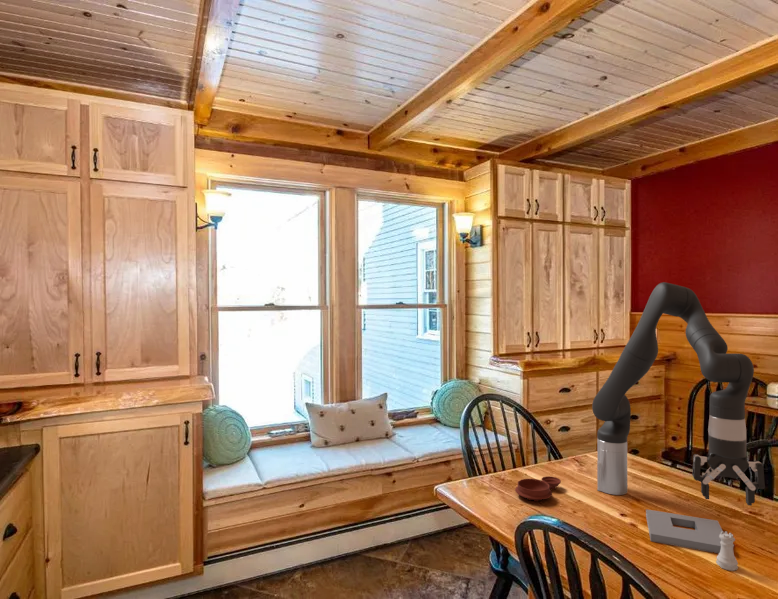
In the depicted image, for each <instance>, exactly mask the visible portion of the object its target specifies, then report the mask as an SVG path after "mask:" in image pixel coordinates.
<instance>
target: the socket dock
mask: <svg viewBox="0 0 778 599" xmlns="http://www.w3.org/2000/svg"><path fill="white" fill-rule="evenodd" d="M645 518H646V522H647V523H646V524H647V528H648V534H649V539H650V540H649V541H650V542H654V543H659V544H665V545H669V546H670V545H671V546H675V547H676V546H677V547H680V548H686V549H691V548H692V550H697V549H698V551H702V552H709V553H713V552H714V553H715V554H719V553H720V549H721V543H720V542H721V539H720V537H719V535H720V534H721V532H722V531H723V529H722V527H721V525H720V523H719V521H718V520H715V519H709V518H703V517H702V518H701V517H697V516H690V515H683V514H678V513H672V512H665V511H659V510H654V509H653V510H652V509H645ZM678 526H679V527H678ZM684 527H686V528H684ZM691 528H692V529H691Z"/></svg>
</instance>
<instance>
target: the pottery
mask: <svg viewBox="0 0 778 599" xmlns="http://www.w3.org/2000/svg"><path fill="white" fill-rule="evenodd" d="M561 482H562V480H561V479H560V478H559V477H556V476H555V477H554V476H543V477H541V479H538V478H537V479H536V478H523V479H520V480H518V481H517V486H516V487H515V490H514V491H515V493H516V494H517V495H519V496H520V497H522V498H525V499H526V498H528V499H530V500H529V501H531V500H534V501H533V502H539V501H538V500H541V501H543V500H546V499H549V498H550V497H552V496H553V491H552V490H550V489H555V488H557V487H558V486H559V485H560V484H561ZM555 490H556V489H555ZM528 499H527V500H528ZM542 499H543V500H542Z"/></svg>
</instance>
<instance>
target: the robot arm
mask: <svg viewBox="0 0 778 599" xmlns="http://www.w3.org/2000/svg"><path fill="white" fill-rule="evenodd" d="M663 314H664V315H669V316H672V317H679V318H680V319H682V321H684V322H685V323H686V324H687V325H686V328H685V337H686V339H687V342H688V343H689V345H690V346H691V348H692V349H693V351H694V352H695V353H696V356H697V358H698V362H699V366H700V368H699V369H700V372H701V374H702V375H703V377H704V378H705V379H706V380H708V381H710V382H713V383H728V385H727V386H726V387H725V388H724V389H721V390H716V391H713V392H711V394H710V395H709V419H708V428H707V431H708V432H707V433H708V453H707V456H702V455H699V454H698V453H694V454H693V458H692V459H693V460H692V473H691V474H692V478H693V480H694V481H697V482H699V483H700V490H701V491H700V493H701V495H702V497H704V498H705V499H706V500H710V484H709V483H710V482H712V481H713V480H714V479H715V478H717V476H719V477H721V478H731V479H737V478H740V479H741V480H742V481H743V483H744V484H745V485H746V486H745V503H746V505H747V506H752V505H753V504H755V502H756V501H755V500H756V497H755V496H756V491H757V490H764V489H765V488H766V485H765V471H764V465H763V463H762V462H760V461H759V460H754V461H748V459H747V427H746V426H747V425H746V413H745V411H746V410H745V408H746V404H745V402H746V400H747V397H748V396H747V395H748V394H749V390H750V387H751V384H752V381H753V378H754V374H755V373H754V372H755V370H754V369H755V368H754V364H753V362H752V360H751V359H750V357H749V356H747V355H745V353H727V352H728V344H727V342H726V340H724V338H723V337H722V335H721V334H720V333H719V332H718V331H717V329H715V328H714V326H713V325H712V323H711V322H710V321H709V318H708V316H707V315H706V312H705V310H704V309H703V306H702V304H701V302H700V299H699V298H698V296H697V294H696V293H695V291H693V290H692V289H691V288H689V287H686V286H682V285H678V284H675V283H670V282H665V281H663V282H660V283H658V284H657V285H656V286H655V287H654V288H653V290H652V292H651V294H650V296H649V297H648V300H647V303H646V304H645V308H644V309H643V311H642V315H641V316H640V319H639V320H638V323H637V326H636V327H635V328H634V331H633V333H632V335H631V336H630V338H629V340H628V341H627V343H626V344H625V346H624V348H623V350H622V352H621V353H620V356H619V358H618V360H617V362H616V363H615V365H614V367H613V368H612V371H610V375H609V377H608V378H607V380H606V381H605V383H603V385H602V387H601V388H600V389H599V391H598V392H597V393H596V395H595V396H594V398H593V400H592V405H591V408H592V413H593V415H594V416H595V418H597V419H598V420H600V421H603V422H604V423H603V424H602V425H601V426H600V427H599V428H598V429H597V434H596V435H597V437H596V438H597V461H596V462H597V464H596V465H597V466H596V467H597V468H596V469H597V479H596V480H597V481H596V482H597V486H596V487H597V488H596V489H597V491H598V492H599V491H600V492H603V493H605V494H610V495H616V496H621V495H623V496H624V495H626V494H627V493H628V436H629V434H630V431H631V414H632V413H631V410H632V409H631V403H630V400H629V398H628V397H627V396H626V394H627V392H628V391H629V390H630V389H631V388H632V387H633V386H634V385H636V384H637V383H638V382H639V381H640V380H641V379H642V378H643V377H645V375H646V374H648V372H649V371H650V369H651V368H652V366H653V364H654V363H655V361H656V359H657V358H658V355H659V354H658V353H659V344H658V338H657V325H658V323H659V320H660V319H661V317H662V315H663ZM705 463H707V464H708V465H709V467H708V469H706V471H705V473H703V474H702V475H701V467H702V466H704V465H705ZM749 467H750V468H751V470H752V471H753V472H754V477H755V478H754V479H755V481H751V480H750V479H749V478H748V477H747V476H746V474H745V472H746V471H747V470H748V468H749ZM705 499H704V500H705Z"/></svg>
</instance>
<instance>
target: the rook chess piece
mask: <svg viewBox="0 0 778 599" xmlns="http://www.w3.org/2000/svg"><path fill="white" fill-rule="evenodd" d="M719 537H720V539H721V542H720V543H721V549H720V553H718V554H717V556H716V560H715V563H716V564H717V566H718V565H719V566H720V568H721V569H722V570H725V571H732V572H735V571H737V570H738V569H739V566H738V565H739V563H738V560H737V558H736V556H735V554H734V553H735V552H734V547H735V544H734V542H735V541H736V538H735V537H734V534H733V533H732V532H729V533H728V531H723V530H722V532H721V534H720V535H719ZM719 566H718V567H719Z"/></svg>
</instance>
